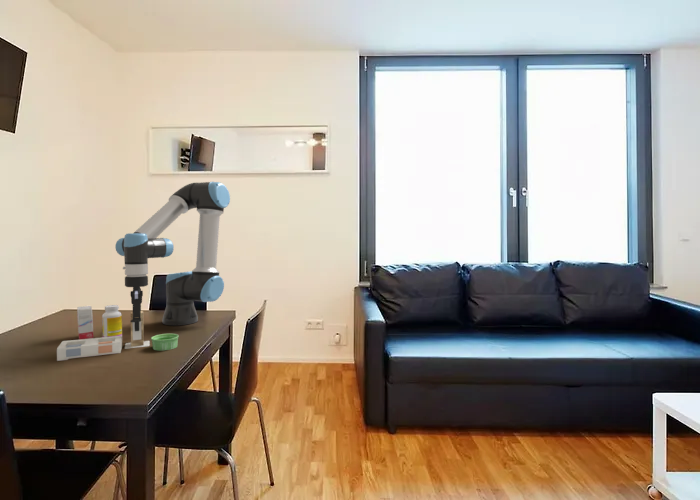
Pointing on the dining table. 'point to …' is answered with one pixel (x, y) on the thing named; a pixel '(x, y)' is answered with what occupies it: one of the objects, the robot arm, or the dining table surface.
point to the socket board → (89, 347)
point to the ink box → (85, 322)
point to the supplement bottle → (112, 321)
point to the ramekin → (164, 341)
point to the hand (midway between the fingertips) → (137, 336)
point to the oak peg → (141, 342)
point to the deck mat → (128, 345)
